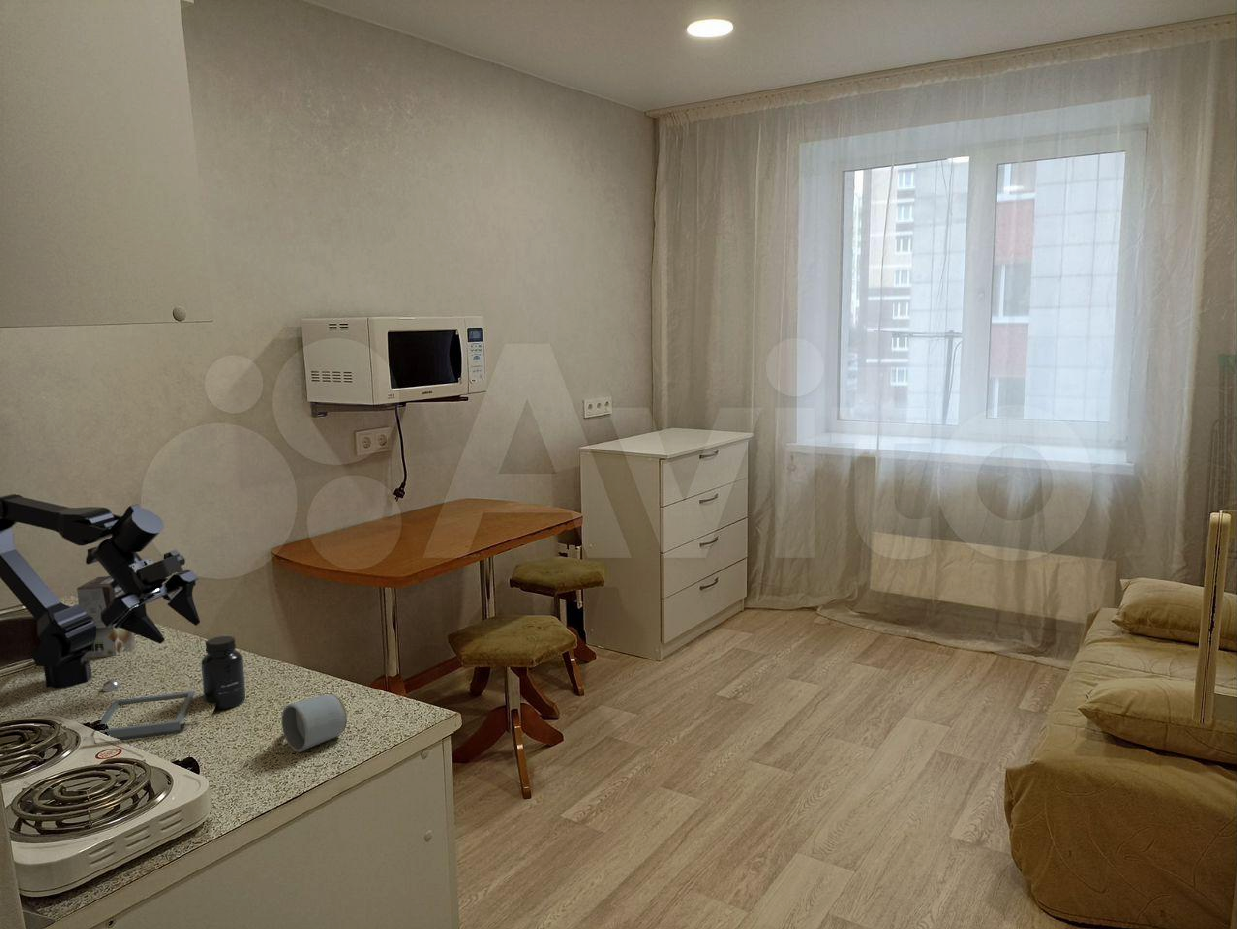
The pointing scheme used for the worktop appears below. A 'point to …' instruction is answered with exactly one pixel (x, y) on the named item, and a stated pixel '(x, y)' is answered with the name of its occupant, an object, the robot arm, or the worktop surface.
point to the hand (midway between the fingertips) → (180, 632)
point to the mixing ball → (111, 686)
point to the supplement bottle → (223, 673)
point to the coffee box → (94, 602)
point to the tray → (152, 728)
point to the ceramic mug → (313, 721)
